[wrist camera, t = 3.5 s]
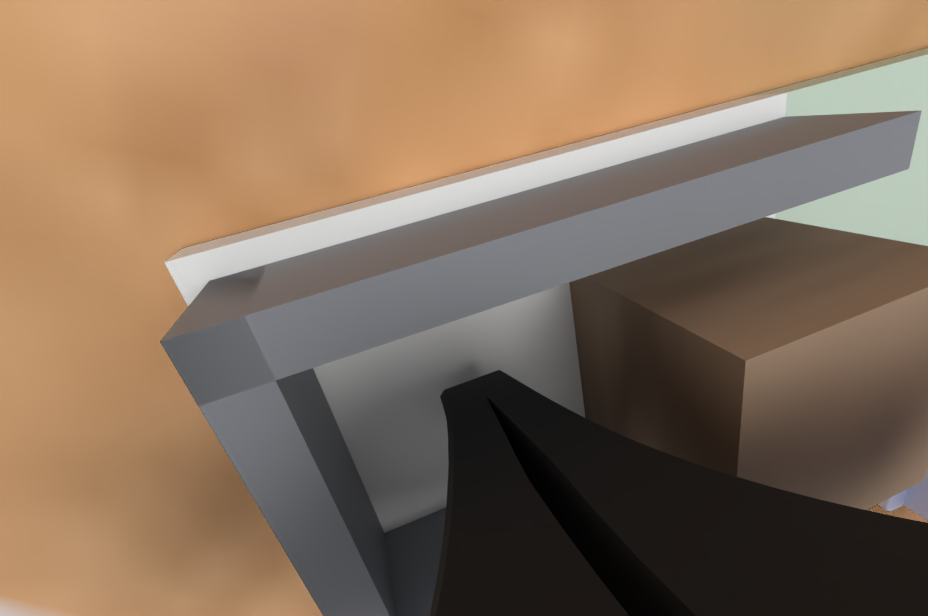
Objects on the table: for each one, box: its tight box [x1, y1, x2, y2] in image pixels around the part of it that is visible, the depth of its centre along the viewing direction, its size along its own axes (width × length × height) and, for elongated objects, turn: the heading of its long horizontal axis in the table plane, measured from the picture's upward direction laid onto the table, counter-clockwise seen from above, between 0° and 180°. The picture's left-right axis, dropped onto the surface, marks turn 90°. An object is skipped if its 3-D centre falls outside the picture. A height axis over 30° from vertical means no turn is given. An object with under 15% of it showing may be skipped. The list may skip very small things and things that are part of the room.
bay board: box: [160, 48, 928, 616], centre depth 10 cm, size 9×20×4 cm, turn 103°
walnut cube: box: [569, 217, 928, 510], centre depth 9 cm, size 4×4×4 cm
